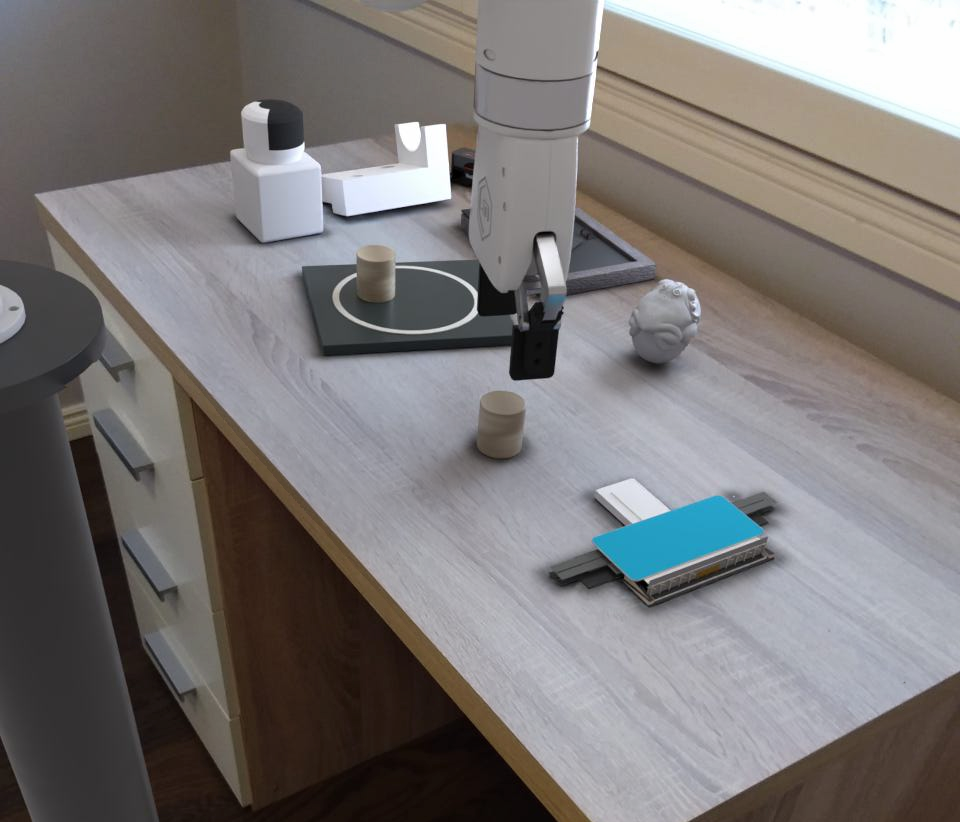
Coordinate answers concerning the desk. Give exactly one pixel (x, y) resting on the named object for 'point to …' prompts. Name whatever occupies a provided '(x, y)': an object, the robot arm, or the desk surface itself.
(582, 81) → the robot arm
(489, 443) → the beige cylinder
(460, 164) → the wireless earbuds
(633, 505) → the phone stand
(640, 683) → the desk surface
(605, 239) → the picture frame
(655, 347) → the frog figurine
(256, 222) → the security camera
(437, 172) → the bracket
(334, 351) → the slate board
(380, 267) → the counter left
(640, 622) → the desk surface
